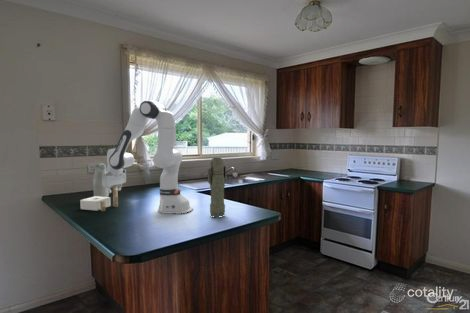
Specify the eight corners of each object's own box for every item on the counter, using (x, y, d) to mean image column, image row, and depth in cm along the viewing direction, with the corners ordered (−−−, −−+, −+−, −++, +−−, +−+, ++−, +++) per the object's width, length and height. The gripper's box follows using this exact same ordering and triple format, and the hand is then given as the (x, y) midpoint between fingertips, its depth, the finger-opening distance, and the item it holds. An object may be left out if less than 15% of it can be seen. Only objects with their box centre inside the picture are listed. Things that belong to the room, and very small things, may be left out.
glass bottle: (91, 201, 213) (89, 163, 211) (100, 198, 223) (99, 162, 221) (102, 202, 210) (101, 164, 208) (111, 199, 220) (110, 162, 218)
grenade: (205, 216, 174) (204, 158, 172) (220, 212, 182) (220, 157, 180) (214, 219, 168) (213, 159, 165) (229, 215, 176) (229, 157, 173)
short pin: (106, 210, 188) (106, 201, 188) (103, 211, 186) (103, 202, 185) (102, 210, 189) (102, 201, 189) (99, 211, 186) (99, 202, 186)
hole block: (110, 205, 201) (110, 197, 200) (96, 210, 188) (96, 201, 188) (95, 204, 204) (94, 196, 204) (80, 209, 192) (80, 200, 191)
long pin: (119, 206, 200) (118, 185, 199) (116, 207, 197) (115, 186, 196) (115, 205, 201) (114, 185, 200) (112, 206, 198) (111, 186, 197)
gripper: (107, 173, 186) (107, 194, 187) (127, 169, 206) (127, 189, 207) (99, 173, 188) (99, 194, 189) (120, 169, 208) (120, 188, 209)
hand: (114, 191), depth 198 cm, fingers open, 8 cm apart
